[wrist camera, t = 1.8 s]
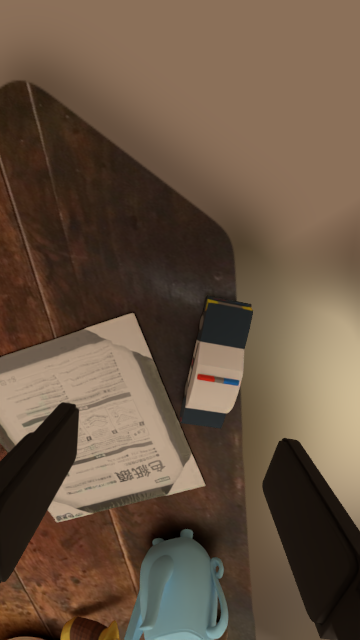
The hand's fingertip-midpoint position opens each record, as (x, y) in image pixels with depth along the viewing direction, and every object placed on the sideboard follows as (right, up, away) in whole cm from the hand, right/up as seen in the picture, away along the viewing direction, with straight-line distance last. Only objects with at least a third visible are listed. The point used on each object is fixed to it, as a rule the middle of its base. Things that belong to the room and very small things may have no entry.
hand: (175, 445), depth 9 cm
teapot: (-1, -36, +26) cm, 44 cm away
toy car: (+4, +1, +16) cm, 17 cm away
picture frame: (-13, -11, +19) cm, 26 cm away
